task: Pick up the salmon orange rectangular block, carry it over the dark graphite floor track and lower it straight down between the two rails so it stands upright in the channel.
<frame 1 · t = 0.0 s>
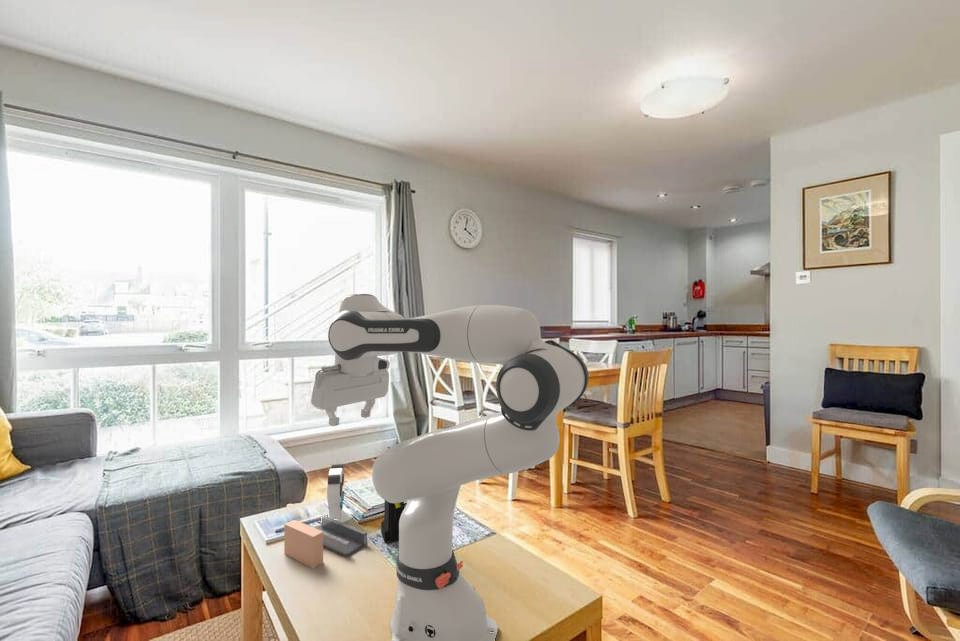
hand: (350, 420, 104), 39 cm above the table, tool pointing down, fingers open, 8 cm apart
portable radio: (393, 537, 127), on the table
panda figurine: (335, 517, 139), on the table
salmon orange rectangular block: (303, 558, 116), on the table
floor track: (334, 541, 125), on the table
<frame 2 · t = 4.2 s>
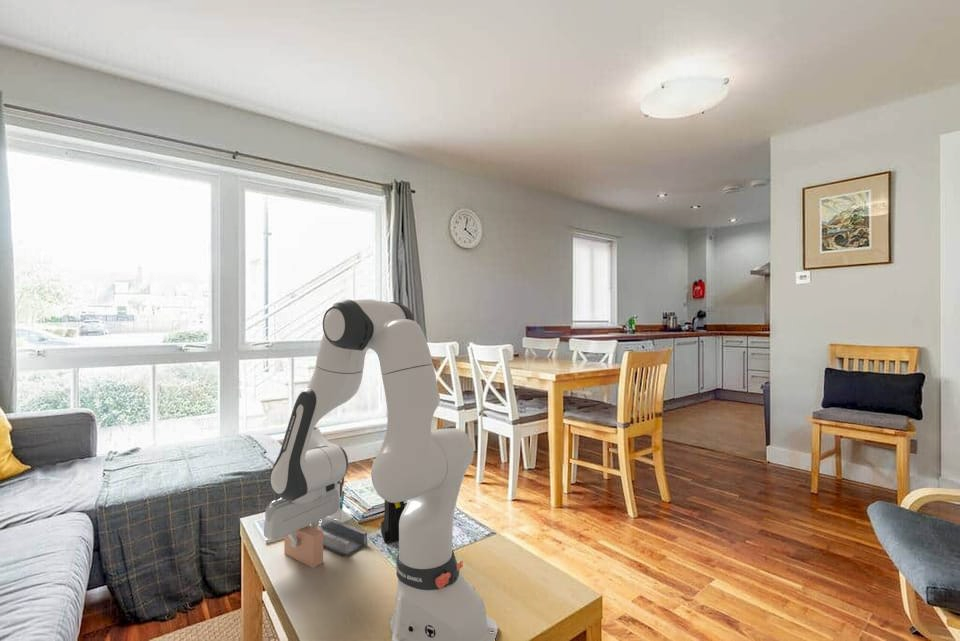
hand: (303, 542, 116), 4 cm above the table, tool pointing down, fingers closed on salmon orange rectangular block, 3 cm apart
salmon orange rectangular block: (303, 557, 116), on the table, touching gripper
everything else where it was.
when the fingers open (6 cm above the table, at t = 8.6 s): salmon orange rectangular block drops 1 cm, resting on floor track.
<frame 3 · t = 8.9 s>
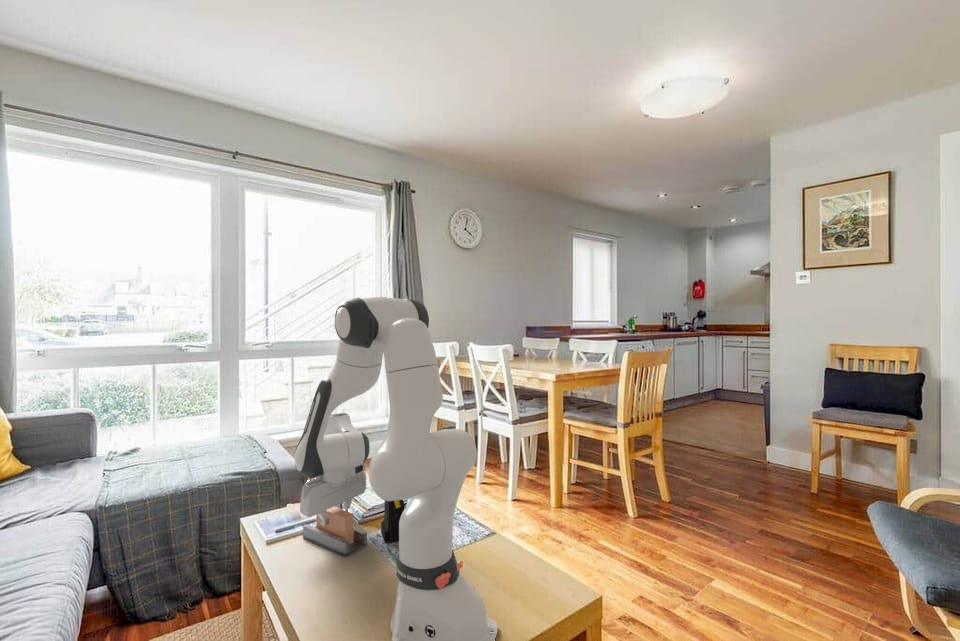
hand: (334, 519, 124), 6 cm above the table, tool pointing down, fingers open, 5 cm apart
salmon orange rectangular block: (334, 538, 124), point 1 cm above the table, touching floor track
everything else where it was.
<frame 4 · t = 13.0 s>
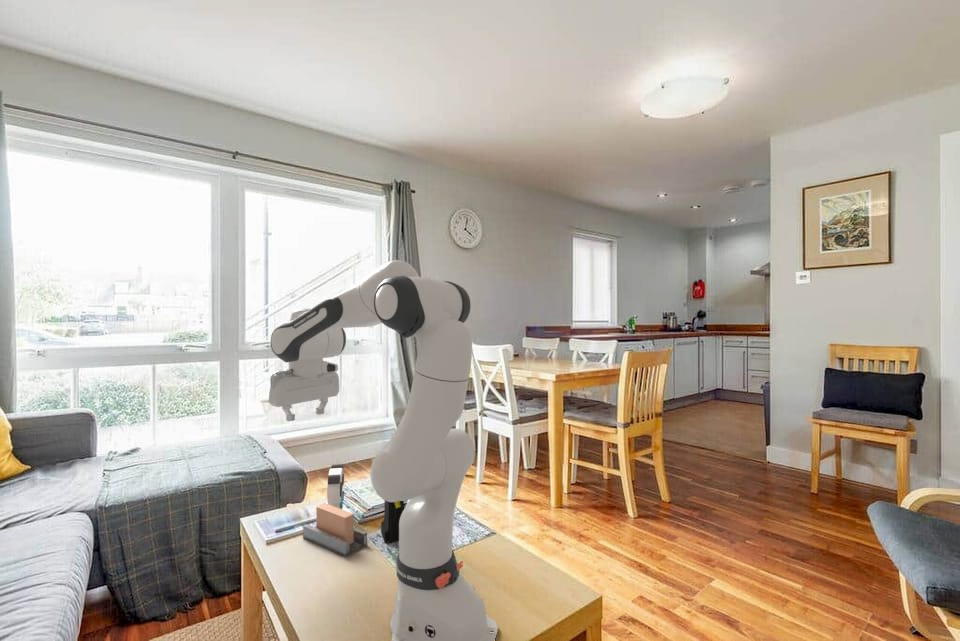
hand: (305, 417, 123), 35 cm above the table, tool pointing down, fingers open, 8 cm apart
nothing on the table moved.
at the end: salmon orange rectangular block 0.0 cm off-centre on the floor track, point 0.8 cm above the floor track's base; salmon orange rectangular block tilted 0°; the gripper is holding nothing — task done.
